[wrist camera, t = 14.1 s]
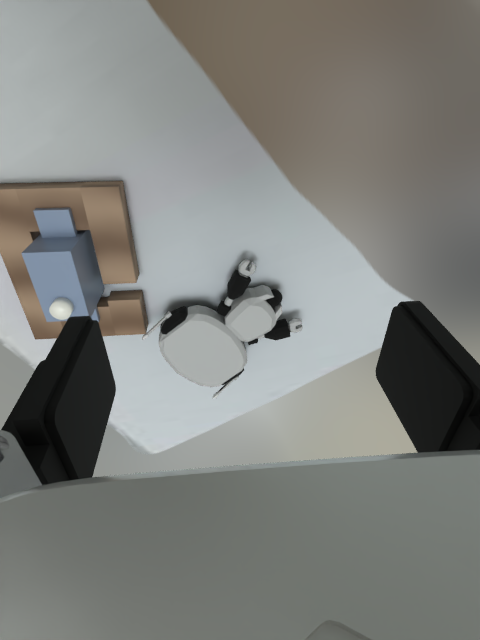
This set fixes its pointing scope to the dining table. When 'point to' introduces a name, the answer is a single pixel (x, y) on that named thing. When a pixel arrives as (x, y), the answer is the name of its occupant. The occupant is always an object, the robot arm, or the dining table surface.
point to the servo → (63, 267)
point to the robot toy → (222, 331)
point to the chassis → (108, 238)
